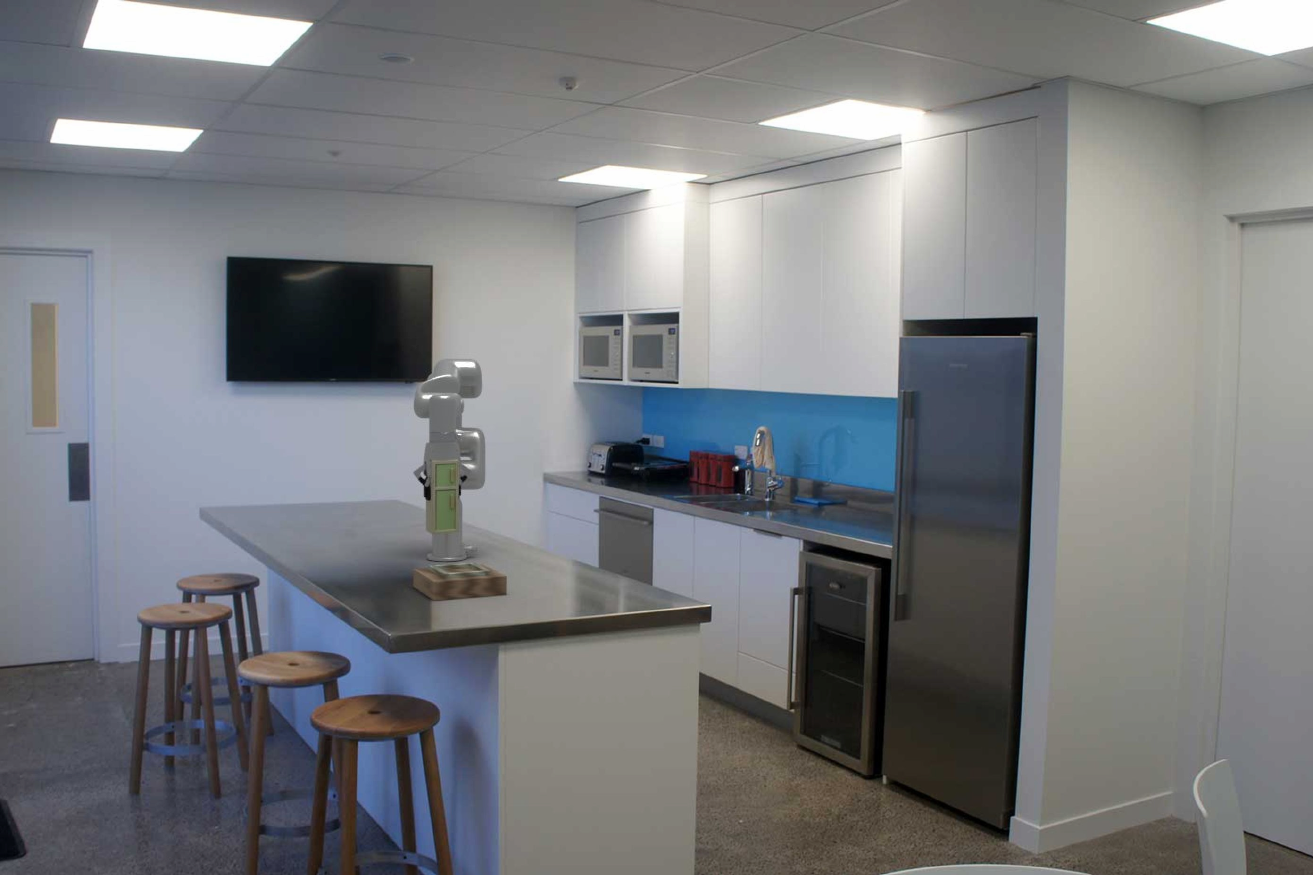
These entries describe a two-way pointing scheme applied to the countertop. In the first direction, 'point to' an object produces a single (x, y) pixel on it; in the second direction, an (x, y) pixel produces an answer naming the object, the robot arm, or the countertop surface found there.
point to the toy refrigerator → (443, 498)
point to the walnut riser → (459, 581)
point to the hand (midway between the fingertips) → (442, 498)
